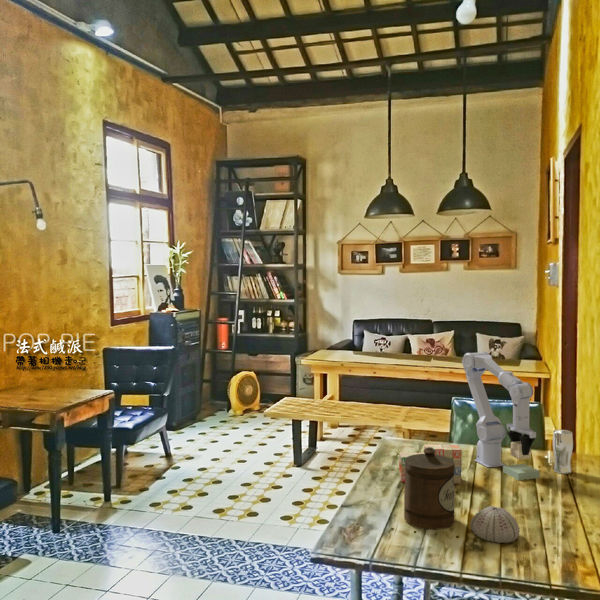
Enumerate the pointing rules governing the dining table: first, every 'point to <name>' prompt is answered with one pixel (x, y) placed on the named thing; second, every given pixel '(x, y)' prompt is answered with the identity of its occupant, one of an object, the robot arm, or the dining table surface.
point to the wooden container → (429, 490)
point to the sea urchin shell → (495, 525)
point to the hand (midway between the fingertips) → (520, 452)
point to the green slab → (521, 471)
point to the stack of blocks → (443, 450)
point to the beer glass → (562, 450)
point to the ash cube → (518, 450)
